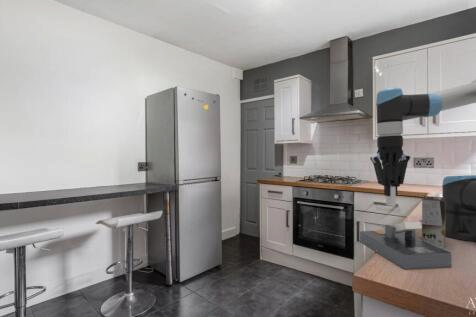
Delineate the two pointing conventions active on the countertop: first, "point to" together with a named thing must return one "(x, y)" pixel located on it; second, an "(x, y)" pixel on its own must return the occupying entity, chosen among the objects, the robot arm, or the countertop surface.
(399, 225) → the rocker
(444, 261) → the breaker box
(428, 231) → the coffee box
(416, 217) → the countertop surface
